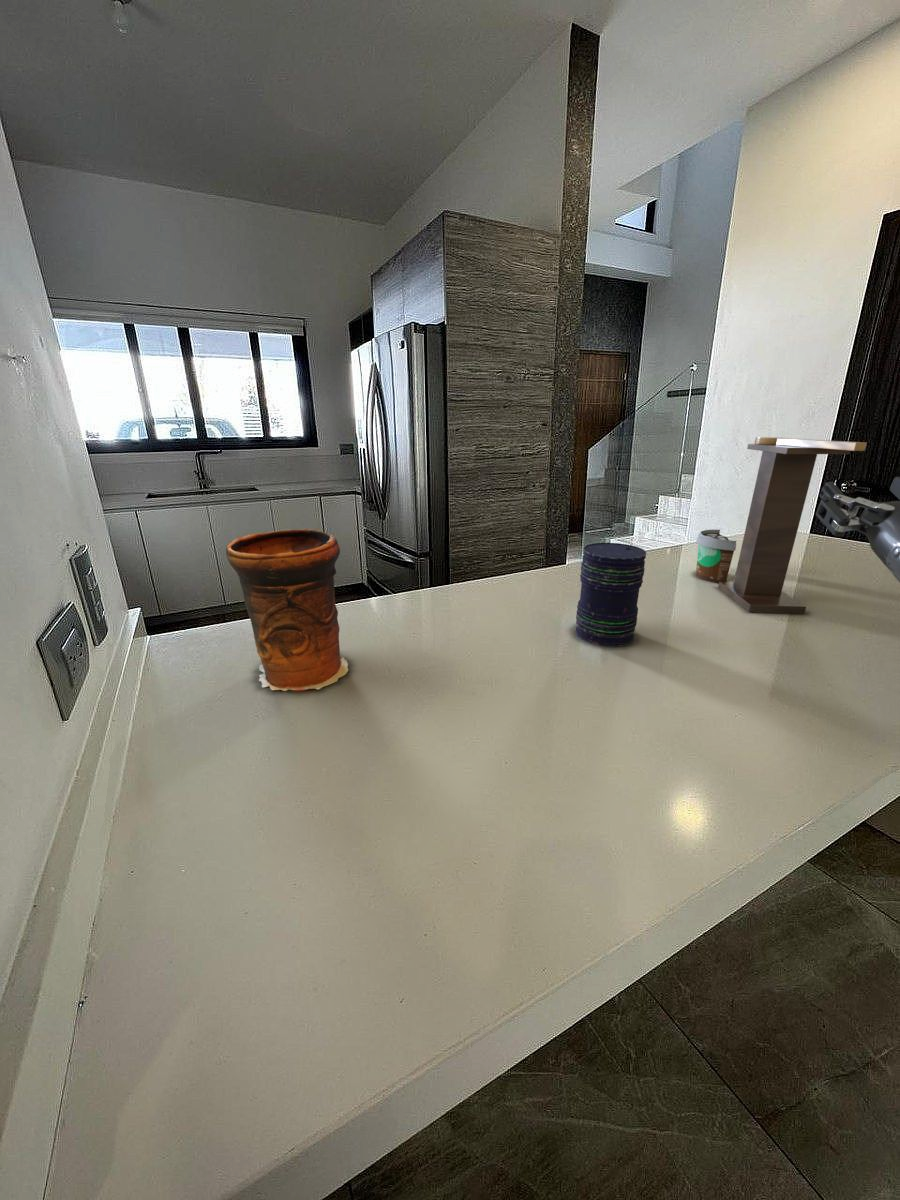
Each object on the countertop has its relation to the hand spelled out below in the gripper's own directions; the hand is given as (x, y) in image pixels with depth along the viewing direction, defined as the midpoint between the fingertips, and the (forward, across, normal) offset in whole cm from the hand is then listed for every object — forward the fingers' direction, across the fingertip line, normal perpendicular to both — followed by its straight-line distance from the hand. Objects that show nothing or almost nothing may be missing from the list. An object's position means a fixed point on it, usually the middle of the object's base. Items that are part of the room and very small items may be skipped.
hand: (860, 485), depth 69 cm
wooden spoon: (+18, 0, -3) cm, 19 cm away
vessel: (-28, -80, -7) cm, 86 cm away
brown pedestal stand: (+10, -3, -32) cm, 33 cm away
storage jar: (-10, -36, -20) cm, 42 cm away
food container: (+24, -9, -37) cm, 45 cm away
